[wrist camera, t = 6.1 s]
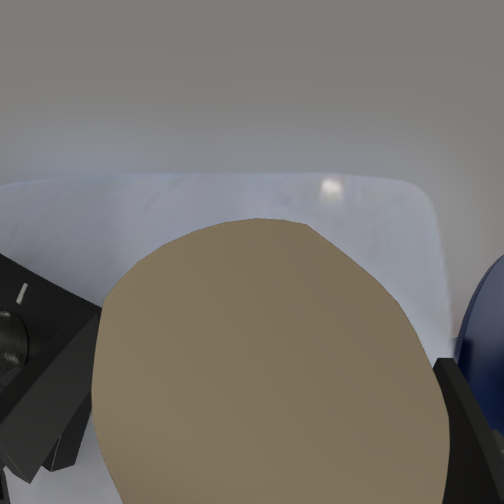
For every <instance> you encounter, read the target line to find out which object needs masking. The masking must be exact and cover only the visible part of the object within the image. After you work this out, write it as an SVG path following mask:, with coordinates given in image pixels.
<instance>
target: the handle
mask: <svg viewBox="0 0 504 504" xmlns="http://www.w3.org/2000/svg"><path fill="white" fill-rule="evenodd" d="M91 390H92V415H93V424H94V428H95V432H96V436H97V440H98V443H99V447H100V450H101V454H102V456H103V459H104V461H105V464H106V466H107V468H108V471H109V473H110V475H111V478H112V480H113V482H114V484H115V487H116V489H117V491H118V493H119V495H120V497H121V499H122V501H123V503H124V504H442V501H443V496H444V490H445V484H446V478H447V470H448V460H449V449H450V438H449V417H448V413H447V410H446V406H445V402H444V399H443V395H442V392H441V389H440V386H439V384H438V381H437V379H436V376H435V374H434V372H433V369H432V367H431V365H430V362H429V360H428V358H427V356H426V353H425V351H424V349H423V347H422V344H421V342H420V340H419V338H418V336H417V334H416V331H415V330H414V328H413V326H412V325H411V323H410V321H409V320H408V318H407V316H406V315H405V313H404V311H403V310H402V308H401V307H400V305H399V303H398V302H397V301H396V300H395V299H394V298H393V297H392V296H391V295H390V294H389V293H388V292H387V290H386V289H385V288H384V287H383V286H382V285H381V284H380V283H379V282H378V281H377V280H376V279H375V278H374V277H372V276H371V275H370V274H369V273H368V272H367V271H365V270H364V269H363V268H362V267H361V266H359V265H358V264H357V263H356V262H355V261H353V260H352V259H351V258H350V257H348V256H347V255H346V254H345V253H343V252H342V251H341V250H340V249H338V248H337V247H336V246H334V245H333V244H332V243H330V242H329V241H328V240H326V239H325V238H324V237H323V236H321V235H320V234H319V233H317V232H316V231H315V230H313V229H312V228H311V227H309V226H308V225H307V224H302V223H296V222H291V221H285V220H276V219H259V218H254V219H247V220H239V221H232V222H225V223H221V224H218V225H214V226H211V227H207V228H204V229H201V230H197V231H194V232H191V233H189V234H187V235H185V236H182V237H180V238H178V239H176V240H174V241H172V242H169V243H167V244H165V245H163V246H161V247H160V248H158V249H157V250H155V251H154V252H152V253H151V254H149V255H148V256H146V257H145V258H143V259H142V260H140V261H139V262H137V263H136V264H135V265H134V266H133V267H132V268H131V269H130V270H129V271H128V272H127V273H126V274H125V275H124V276H123V277H122V278H121V279H120V280H119V281H118V282H117V284H116V285H115V286H114V288H113V289H112V290H111V292H110V293H109V294H108V295H107V297H106V298H105V299H104V302H103V307H102V313H101V318H100V324H99V330H98V336H97V343H96V349H95V358H94V367H93V377H92V389H91Z"/></svg>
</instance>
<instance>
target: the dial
mask: <svg viewBox="0 0 504 504" xmlns="http://www.w3.org/2000/svg"><path fill="white" fill-rule="evenodd" d="M27 352H28V342H27V334H26V330H25V328H24V325H23V323H22V321H21V320H20V318H19V317H18V316H17V315H16V314H15V313H14V312H12V311H11V310H8V309H6V308H4V307H2V306H0V378H1V377H2V376H3V375H4V374H5V373H6V372H8V371H10V370H12V369H14V368H15V367H19V368H21V369H23V367H24V366H25V363H26V359H27Z"/></svg>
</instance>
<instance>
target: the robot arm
mask: <svg viewBox="0 0 504 504" xmlns="http://www.w3.org/2000/svg"><path fill="white" fill-rule="evenodd" d="M98 330H99V325H98V319H97V313H96V312H92V311H88V310H84V309H80V310H79V311H78V312H77V313H76V314H75V315H74V316H73V317H72V318H71V319H70V320H69V321H68V322H67V323H66V324H65V325H64V326H63V327H62V328H61V329H60V330H59V331H58V332H57V333H56V334H55V335H54V336H53V337H52V338H51V339H50V340H49V341H48V342H47V343H46V344H45V345H44V346H43V347H42V348H41V349H40V350H39V351H38V352H37V354H36V355H35V356H34V357H33V358H32V359H31V360H30V361H29V362H28V363H27V364H26V365H25V366H24V367H23V369H21V368H19V367H15V368H14V369H12V370H10V371H8V372H6V373H5V374H4V375H3V376H2V377H1V378H0V504H10V499H9V494H8V488H7V482H6V476H5V473H4V470H3V468H4V467H5V465H6V466H7V467H8V468H9V469H10V471H11V472H12V473H13V474H14V475H16V476H17V477H19V478H21V479H22V480H24V481H25V482H27V483H29V484H30V483H31V482H32V480H33V478H34V477H35V475H36V473H37V472H38V470H39V468H40V467H41V465H42V464H43V462H44V460H45V459H46V457H47V455H48V454H49V452H50V451H51V449H52V448H53V446H54V444H55V443H56V441H57V440H58V438H59V437H60V435H61V433H62V432H63V430H64V429H65V427H66V426H67V424H68V423H69V421H70V420H71V418H72V417H73V415H74V414H75V412H76V410H77V409H78V407H79V406H80V404H81V403H82V401H83V400H84V399H85V397H86V396H87V394H88V393H89V391H90V390H91V388H92V377H93V367H94V358H95V349H96V343H97V336H98ZM433 372H434V374H435V376H436V379H437V381H438V384H439V386H440V389H441V392H442V395H443V399H444V402H445V406H446V410H447V413H448V417H449V438H450V449H449V460H448V470H447V478H446V484H445V490H444V496H443V501H442V504H504V437H503V436H502V435H501V434H500V433H499V432H498V431H497V430H496V429H494V430H491V429H490V427H489V425H488V423H487V421H486V419H485V417H484V415H483V413H482V411H481V409H480V407H479V405H478V403H477V401H476V399H475V397H474V395H473V393H472V391H471V389H470V387H469V386H468V384H467V382H466V380H465V378H464V376H463V375H462V373H461V371H460V369H459V368H458V366H457V364H456V362H455V360H454V359H453V358H438V359H437V361H436V363H435V365H434V367H433Z"/></svg>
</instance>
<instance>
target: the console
mask: <svg viewBox="0 0 504 504" xmlns="http://www.w3.org/2000/svg"><path fill="white" fill-rule="evenodd" d="M0 306H2V307H4V308H6V309H8V310H11V311H12V312H14V313H15V314H16V315H17V316H18V317H19V318H20V320H21V321H22V323H23V325H24V328H25V330H26V334H27V342H28V352H27V359H26V363H25V365H26V364H27V363H28V362H29V361H30V360H31V359H32V358H33V357H34V356H35V355H36V354H37V352H38V351H39V350H40V349H41V348H42V347H43V346H44V345H45V344H46V343H47V342H48V341H49V340H50V339H51V338H52V337H53V336H54V335H55V334H56V333H57V332H58V331H59V330H60V329H61V328H62V327H63V326H64V325H65V324H66V323H67V322H68V321H69V320H70V319H71V318H72V317H73V316H74V315H75V314H76V313H77V312H78V311H79V310H80V309H84V310H88V311H92V312H96V313H97V319H98V325H99V324H100V318H101V313H102V308H101V307H99V306H97V305H95V304H93V303H91V302H89V301H87V300H85V299H83V298H81V297H79V296H77V295H75V294H73V293H71V292H69V291H67V290H65V289H63V288H61V287H59V286H57V285H55V284H53V283H52V282H50V281H48V280H46V279H44V278H42V277H40V276H39V275H37V274H35V273H33V272H31V271H30V270H28V269H26V268H24V267H23V266H21V265H19V264H17V263H16V262H14V261H12V260H11V259H9V258H7V257H6V256H4V255H2V254H1V253H0ZM91 389H92V388H91ZM91 410H92V390H90V391H89V393H88V394H87V396H86V397H85V399H84V400H83V401H82V403H81V404H80V406H79V407H78V409H77V410H76V412H75V414H74V415H73V417H72V418H71V420H70V421H69V423H68V424H67V426H66V427H65V429H64V430H63V432H62V433H61V435H60V437H59V438H58V440H57V441H56V443H55V444H54V446H53V448H52V449H51V451H50V452H49V454H48V455H47V457H46V459H45V460H44V462H43V464H42V466H43V467H44V468H46V469H47V470H48V471H50V472H53V471H56V470H60V469H63V468H66V467H69V466H73V465H74V464H75V461H76V457H77V454H78V451H79V447H80V444H81V441H82V438H83V434H84V431H85V428H86V425H87V422H88V419H89V416H90V413H91Z"/></svg>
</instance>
